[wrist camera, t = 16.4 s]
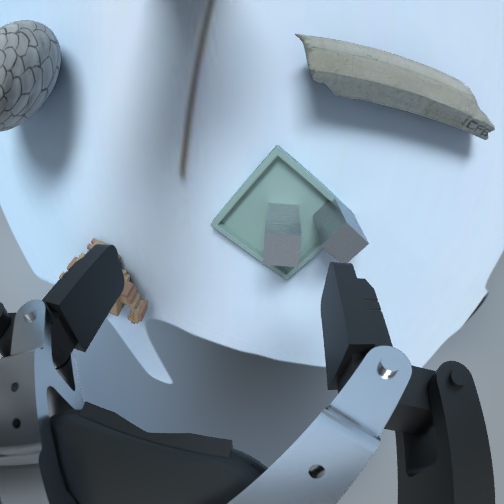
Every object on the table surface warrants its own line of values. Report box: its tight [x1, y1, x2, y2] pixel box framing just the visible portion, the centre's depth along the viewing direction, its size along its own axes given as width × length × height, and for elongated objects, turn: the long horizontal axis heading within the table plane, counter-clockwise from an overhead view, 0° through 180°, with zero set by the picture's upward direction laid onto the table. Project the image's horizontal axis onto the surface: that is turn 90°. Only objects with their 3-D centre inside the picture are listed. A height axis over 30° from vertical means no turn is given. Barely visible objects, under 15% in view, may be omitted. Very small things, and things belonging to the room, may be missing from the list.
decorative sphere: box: [0, 20, 61, 132], centre depth 22 cm, size 20×20×20 cm
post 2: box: [313, 199, 369, 263], centre depth 38 cm, size 4×4×10 cm
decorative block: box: [295, 34, 495, 140], centre depth 27 cm, size 8×30×8 cm, turn 87°
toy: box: [59, 238, 148, 324], centre depth 51 cm, size 10×20×20 cm
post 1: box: [263, 203, 302, 267], centre depth 38 cm, size 4×4×10 cm
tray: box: [211, 145, 354, 280], centre depth 42 cm, size 16×16×2 cm
